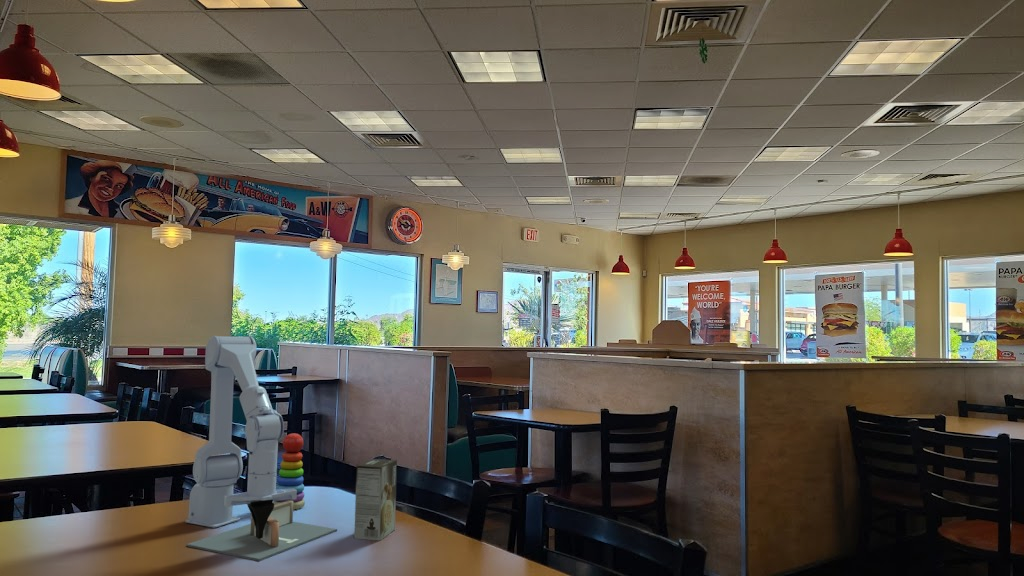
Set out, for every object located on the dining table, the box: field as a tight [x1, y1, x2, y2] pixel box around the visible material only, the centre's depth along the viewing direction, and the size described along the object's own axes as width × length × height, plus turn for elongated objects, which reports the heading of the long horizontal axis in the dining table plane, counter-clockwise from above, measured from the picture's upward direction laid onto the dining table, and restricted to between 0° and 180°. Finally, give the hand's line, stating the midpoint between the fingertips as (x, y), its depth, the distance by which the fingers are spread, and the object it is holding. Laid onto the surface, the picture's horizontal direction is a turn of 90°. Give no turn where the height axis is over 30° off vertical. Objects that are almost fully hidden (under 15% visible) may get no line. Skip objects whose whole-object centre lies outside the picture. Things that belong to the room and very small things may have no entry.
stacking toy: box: [273, 432, 306, 511], centre depth 182 cm, size 8×8×19 cm
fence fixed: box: [250, 501, 294, 536], centre depth 161 cm, size 2×12×5 cm, turn 156°
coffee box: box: [353, 458, 398, 542], centre depth 160 cm, size 9×6×16 cm
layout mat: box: [186, 521, 338, 562], centre depth 154 cm, size 20×24×1 cm
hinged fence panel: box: [254, 517, 279, 547], centre depth 151 cm, size 10×2×5 cm, turn 41°
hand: (259, 537), depth 148 cm, fingers closed
